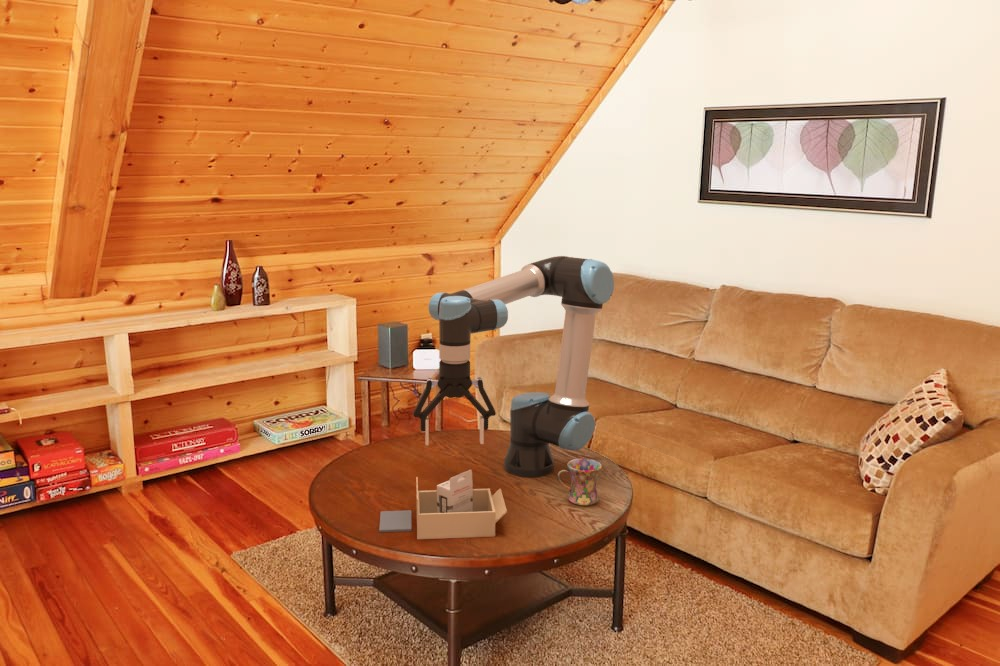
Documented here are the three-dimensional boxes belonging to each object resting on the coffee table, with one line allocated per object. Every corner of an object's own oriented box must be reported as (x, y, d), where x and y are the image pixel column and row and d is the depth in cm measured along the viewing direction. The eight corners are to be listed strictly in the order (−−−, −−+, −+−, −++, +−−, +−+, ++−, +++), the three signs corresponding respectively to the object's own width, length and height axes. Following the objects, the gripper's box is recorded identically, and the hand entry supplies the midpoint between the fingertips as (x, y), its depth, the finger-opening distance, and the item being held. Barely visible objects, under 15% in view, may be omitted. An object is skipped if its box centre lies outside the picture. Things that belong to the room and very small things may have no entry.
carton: (499, 506, 219) (499, 470, 217) (506, 535, 203) (507, 496, 201) (416, 509, 217) (416, 472, 215) (417, 539, 200) (416, 499, 198)
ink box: (459, 517, 213) (459, 463, 210) (473, 522, 210) (473, 468, 207) (436, 527, 207) (435, 473, 204) (450, 533, 204) (450, 478, 200)
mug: (594, 493, 229) (596, 457, 227) (604, 507, 220) (606, 470, 218) (553, 495, 227) (554, 459, 225) (561, 509, 218) (562, 472, 216)
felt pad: (411, 512, 215) (411, 510, 215) (411, 531, 205) (411, 528, 205) (380, 513, 214) (380, 511, 214) (379, 532, 204) (379, 530, 204)
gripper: (503, 355, 204) (502, 436, 209) (403, 356, 201) (404, 438, 206) (507, 363, 197) (505, 446, 201) (403, 364, 194) (403, 449, 199)
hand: (454, 442), depth 204 cm, fingers open, 13 cm apart
